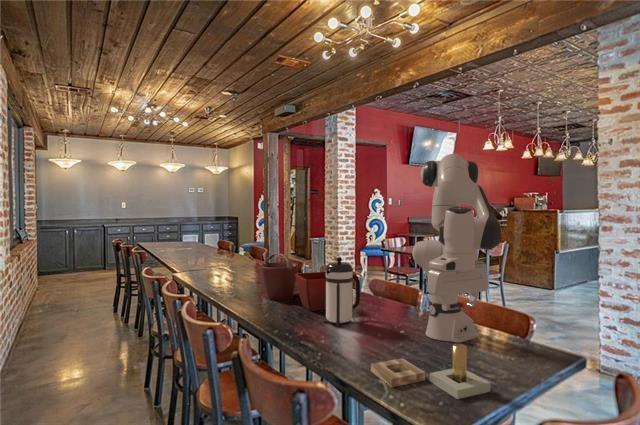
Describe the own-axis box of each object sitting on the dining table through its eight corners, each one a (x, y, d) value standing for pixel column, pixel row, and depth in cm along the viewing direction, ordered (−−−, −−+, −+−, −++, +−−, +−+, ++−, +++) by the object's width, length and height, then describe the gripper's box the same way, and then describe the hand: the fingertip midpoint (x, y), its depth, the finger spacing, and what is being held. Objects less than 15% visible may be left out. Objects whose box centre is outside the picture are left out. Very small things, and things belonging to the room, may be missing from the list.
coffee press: (356, 329, 170) (356, 259, 169) (319, 326, 173) (319, 258, 173) (360, 317, 187) (360, 254, 186) (327, 315, 190) (327, 253, 190)
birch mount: (402, 365, 131) (402, 358, 131) (424, 380, 120) (424, 372, 120) (370, 371, 127) (370, 363, 127) (391, 387, 116) (391, 379, 116)
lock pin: (459, 382, 119) (460, 342, 119) (469, 387, 115) (469, 347, 115) (449, 384, 117) (449, 344, 117) (458, 390, 114) (459, 349, 114)
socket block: (460, 374, 124) (460, 366, 124) (490, 391, 113) (490, 382, 113) (429, 381, 120) (429, 373, 120) (457, 399, 109) (457, 390, 108)
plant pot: (341, 310, 201) (342, 277, 200) (306, 313, 194) (306, 279, 193) (327, 301, 218) (327, 271, 218) (294, 304, 211) (294, 273, 211)
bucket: (256, 293, 237) (256, 252, 236) (290, 290, 246) (290, 250, 246) (268, 303, 215) (268, 257, 214) (305, 299, 224) (305, 255, 223)
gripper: (477, 258, 123) (477, 302, 123) (424, 262, 115) (424, 309, 115) (493, 261, 117) (493, 307, 117) (438, 265, 109) (438, 314, 110)
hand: (458, 308), depth 116 cm, fingers open, 8 cm apart
